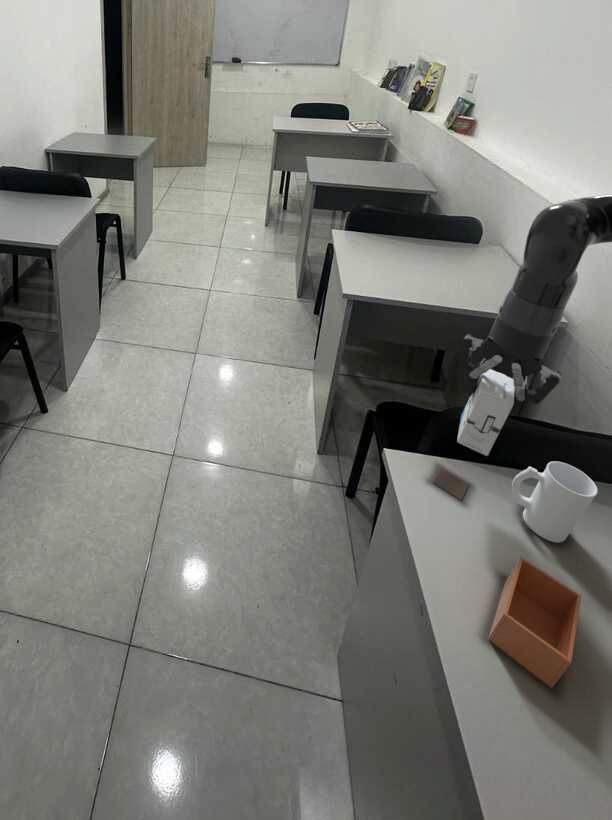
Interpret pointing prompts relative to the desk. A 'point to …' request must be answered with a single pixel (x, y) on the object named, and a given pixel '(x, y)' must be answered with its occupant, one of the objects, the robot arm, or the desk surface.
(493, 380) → the ink box
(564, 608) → the open box
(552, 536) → the mug
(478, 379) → the robot arm
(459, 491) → the pad
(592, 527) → the desk surface
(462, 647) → the desk surface
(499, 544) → the desk surface
